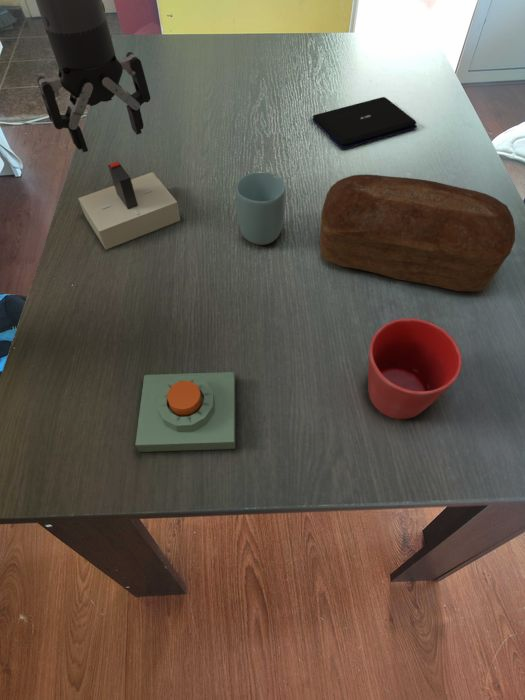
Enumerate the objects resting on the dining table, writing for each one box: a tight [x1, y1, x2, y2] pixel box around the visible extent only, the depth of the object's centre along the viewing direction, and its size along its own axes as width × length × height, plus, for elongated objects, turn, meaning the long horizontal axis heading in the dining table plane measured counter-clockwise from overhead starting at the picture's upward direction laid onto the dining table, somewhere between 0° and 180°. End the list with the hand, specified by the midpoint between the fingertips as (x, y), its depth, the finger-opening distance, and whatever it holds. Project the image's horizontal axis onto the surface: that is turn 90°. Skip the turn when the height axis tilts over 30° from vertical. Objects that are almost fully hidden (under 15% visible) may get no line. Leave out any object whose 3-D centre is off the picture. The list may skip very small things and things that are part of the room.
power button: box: [167, 381, 202, 416], centre depth 57 cm, size 4×4×2 cm
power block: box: [134, 371, 236, 453], centre depth 59 cm, size 12×10×4 cm
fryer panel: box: [77, 171, 181, 251], centre depth 81 cm, size 14×10×4 cm
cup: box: [235, 171, 287, 246], centre depth 76 cm, size 8×8×10 cm
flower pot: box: [367, 317, 463, 420], centre depth 58 cm, size 11×11×10 cm
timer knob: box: [107, 161, 138, 209], centre depth 77 cm, size 5×2×6 cm, turn 32°
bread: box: [319, 174, 516, 292], centre depth 72 cm, size 14×28×12 cm, turn 73°
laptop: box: [312, 96, 418, 150], centre depth 99 cm, size 16×20×2 cm
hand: (110, 140), depth 70 cm, fingers open, 8 cm apart
